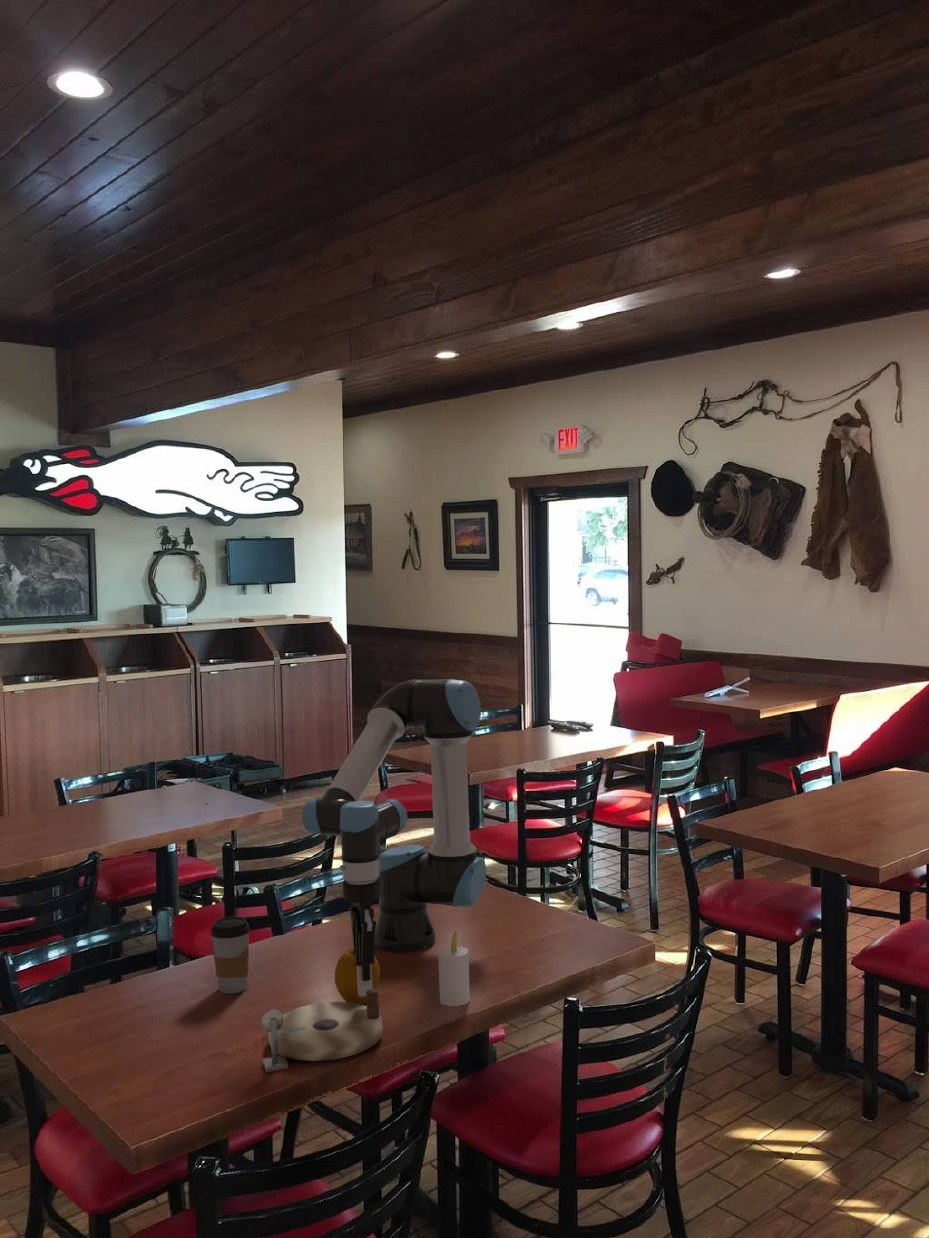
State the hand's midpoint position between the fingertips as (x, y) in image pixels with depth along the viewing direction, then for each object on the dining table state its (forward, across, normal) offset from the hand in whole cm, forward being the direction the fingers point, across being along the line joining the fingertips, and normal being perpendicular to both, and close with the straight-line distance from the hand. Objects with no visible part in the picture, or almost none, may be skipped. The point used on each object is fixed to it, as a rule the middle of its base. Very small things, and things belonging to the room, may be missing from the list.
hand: (365, 994), depth 215 cm
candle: (+5, -2, +20) cm, 20 cm away
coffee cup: (+6, -28, -23) cm, 37 cm away
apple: (+6, -9, +1) cm, 11 cm away
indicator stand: (+5, +13, -20) cm, 25 cm away
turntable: (+5, +6, -9) cm, 12 cm away
